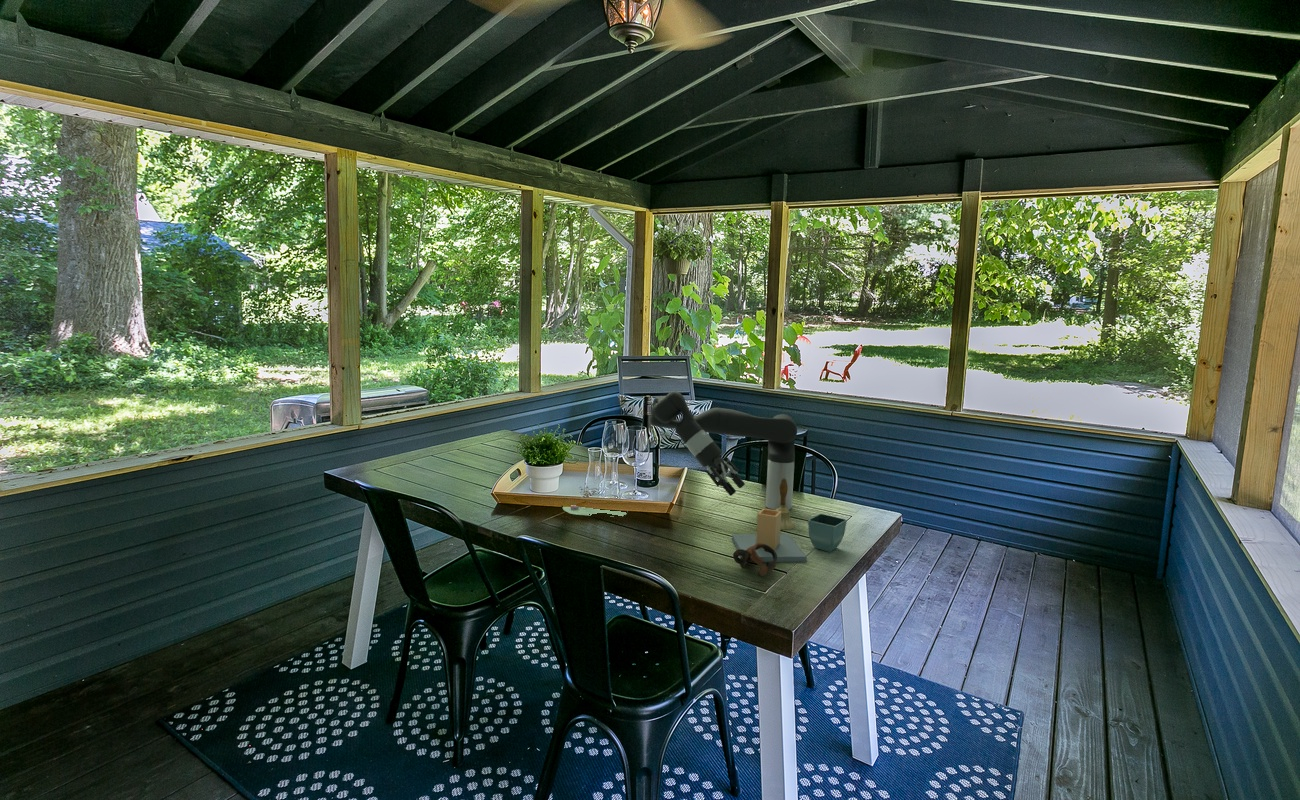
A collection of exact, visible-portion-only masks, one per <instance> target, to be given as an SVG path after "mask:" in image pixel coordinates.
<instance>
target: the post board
mask: <svg viewBox="0 0 1300 800" xmlns="http://www.w3.org/2000/svg"><path fill="white" fill-rule="evenodd" d="M756 537H757V533H743V534H741V533H739V534H737V533H735V534H734V533H732V534H731V540H732V542H733V544H734V543H735V544H734V545H736V546H735V547H737V548H736V550H738V549H743V550H747V549H748V548H749V547H751V546H754V545H755V544H756ZM774 551H775V552H776V554H777V561H776V563H783V562H784V563H785V562H787V563H788V562H789V563H793V562H795V563H799V562H800V563H801V562H807V559H808V557H807V555H806V553H805V552H804V551H803V550H802V548H801V547H800V545H799V544H798V543H797V542H796V541H795V540H794V538H793V536H791V534H790V533H780V544H779V545H778V546H777V547H776V549H775V550H774ZM756 553H757V555H758V556H759V557H760V558H761V559H763V560H764V562H763V563H767V561H773V560H774V559H773V556H772V554H771V553H769V552H766V551H764V548H759V549H757V550H756ZM740 558H742V556H740Z"/></svg>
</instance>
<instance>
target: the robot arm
mask: <svg viewBox="0 0 1300 800" xmlns="http://www.w3.org/2000/svg"><path fill="white" fill-rule="evenodd" d="M651 404H652V405H651V412H650V418H649V422H650V425H652V426H654V427H657V428H663V429H674V430H675V433H676V434H677V436H678V437H679V439H681V440H682V442H683V443H684V444H685V446H686V447H687V449H688V450H689V451H690V453H691V454H692V455H693V457H694V458H695V459H696V460H697V462H699V464H700V465H701V466H702V468H706V470H705V473H706V474H707V475H708V477H709V478H710V479H711V480H712V482H713V483H714V484H715V486H716V487H722V488H723V489H724V490H725V492H726V493H727V494H728V495H729V496H731V497H732V496H733V495H735V493H736V492H737V490H736V488H735V487H734V486H732V484H731V483H730V481H728V478H729V479H731V481H732V482H733V483H734V484H735V485H736V487H737V488H738V489H742V488H743V487H744V486H745V482H744V481H743V479H742V478H741V477H740V476H739V473H738V472H739V469H738V468H737V467H736V466H735V464H734V463H733V462H732V460H730V459H729V458H728V457H727V456H724V457H721V455H723V450H722V449H721V448H720V447H719V445H718V444H717V443H716V442H715V441H714V439H713V438H712V437H711V436H710V435H709V434H708V433H710V434H718V435H724V436H733V437H735V436H736V437H744V438H745V437H747V438H758V439H762V440H766V441H768V442H767V443H768V445H767V469H766V470H767V473H766V476H767V477H766V490H765V491H766V493H765V507H767V508H766V509H770V510H776V509H777V508H780V503H781V495H780V483H781V481H782V478H785V479H786V482H787V485H788V491H787V495H786V508H787V509H789V510H792V507H793V495H794V494H793V492H794V491H793V489H794V473H795V458H796V453H795V451H796V449H795V439H796V437H797V434H798V427H797V425H796V422H795V421H794V419H793V418H792V417H791V416H790V415H788V414H784V413H780V414H776V415H775V416H773V417H760V416H756V415H753V414H750V413H746V412H743V411H740V410H735V409H732V408H731V409H730V408H724V407H723V408H722V407H713V408H710V409H707V410H705V411H703V412H701V413H699V414H697V415H694V416H693V414H692V413H691V410H690V408H689V406H688V403H687V401H686V399H685V397H684V395H683V394H682V393H681V392H679V391H677V390H672V391H670V392H668V394H666V395H660V396H659V395H658V396H656V397H655V398H654V399H653V400H652V403H651ZM681 413H682V418H681V419H680V420H679V419H678V420H677V417H678V416H679V415H680V414H681ZM707 467H708V468H707ZM727 477H728V478H727Z"/></svg>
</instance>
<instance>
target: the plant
mask: <svg viewBox="0 0 1300 800" xmlns="http://www.w3.org/2000/svg"><path fill="white" fill-rule="evenodd" d="M584 485H587V483H584ZM580 488H581V486H579V489H580ZM587 489H589V486H585V487H584V488H581V489H580V490H581V491H580V495H581V496H582V498H584V497H589V496H592V497H593V495H594V493H592V490H591V491H590V490H587ZM562 510H563V511H564V512H566V513H568V514H570V515H571V514H572V515H578V516H591V515H592V514H597V513H607V514H612V515H618V516H622V517H625V516H626V515H627V514H628V512H627V513H626V512H621V511H610V510H600V509H593V508H585V507H578V506H576V505H571V507H562ZM589 514H590V515H589ZM624 515H625V516H624Z"/></svg>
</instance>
